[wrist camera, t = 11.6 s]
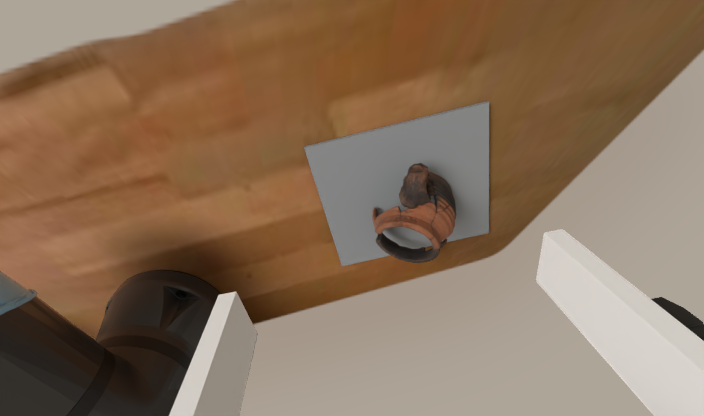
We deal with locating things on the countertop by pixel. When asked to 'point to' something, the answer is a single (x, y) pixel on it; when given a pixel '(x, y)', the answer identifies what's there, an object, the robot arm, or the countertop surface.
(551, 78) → the countertop surface
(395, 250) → the broken terracotta jug
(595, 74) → the countertop surface
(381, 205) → the gray mat
